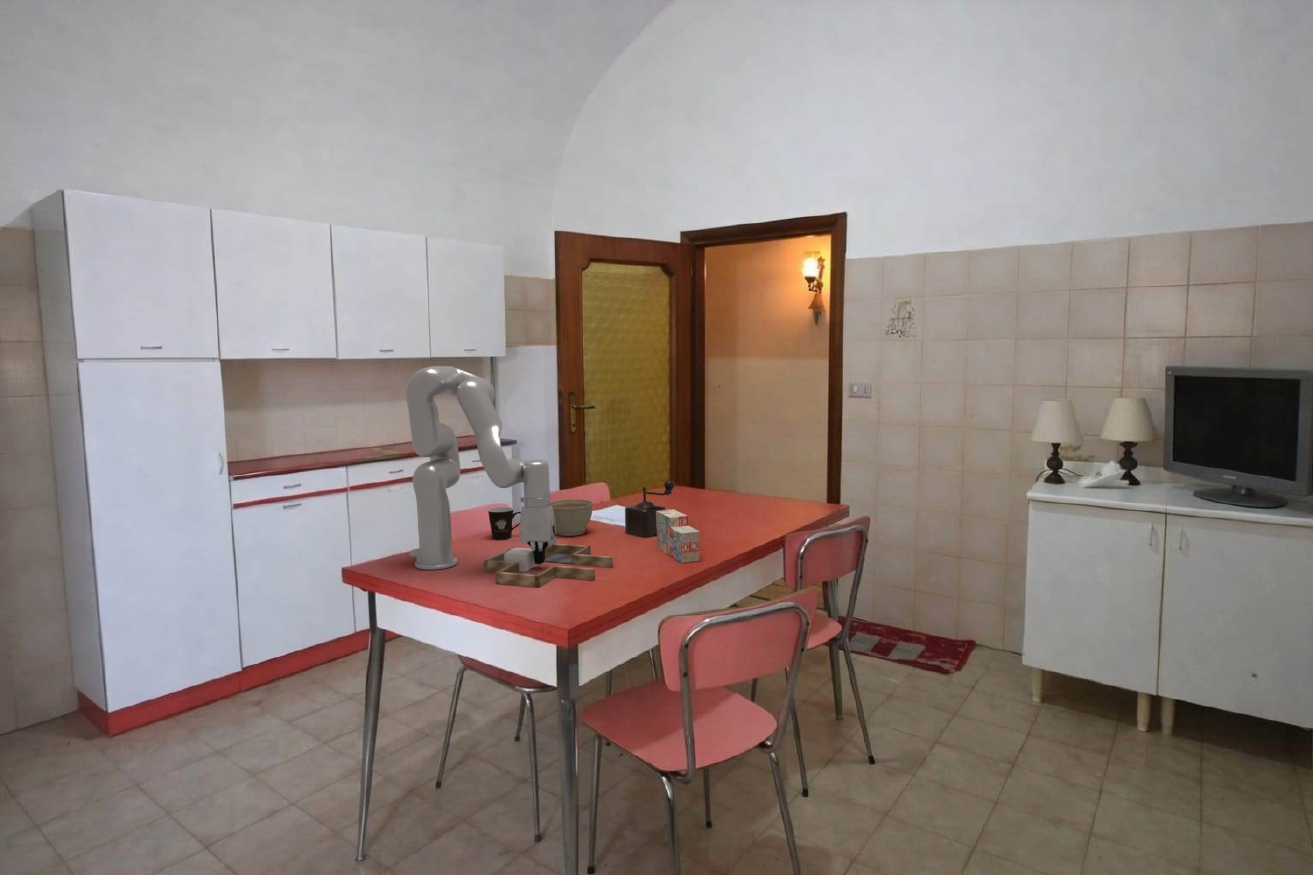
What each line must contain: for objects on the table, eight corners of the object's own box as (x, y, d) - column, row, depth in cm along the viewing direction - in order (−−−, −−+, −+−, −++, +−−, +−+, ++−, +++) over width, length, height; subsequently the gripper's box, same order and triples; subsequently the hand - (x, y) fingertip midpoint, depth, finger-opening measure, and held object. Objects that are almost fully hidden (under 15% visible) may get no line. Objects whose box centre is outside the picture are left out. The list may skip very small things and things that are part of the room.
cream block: (505, 569, 229) (504, 553, 228) (516, 563, 235) (515, 547, 235) (526, 571, 227) (525, 554, 226) (537, 565, 233) (536, 548, 233)
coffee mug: (484, 540, 266) (483, 511, 264) (495, 534, 274) (494, 506, 273) (516, 541, 263) (515, 512, 262) (526, 535, 271) (525, 507, 270)
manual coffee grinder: (645, 538, 264) (644, 486, 262) (624, 533, 272) (623, 482, 270) (678, 530, 274) (677, 480, 272) (656, 526, 282) (655, 477, 280)
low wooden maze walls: (465, 580, 218) (464, 570, 218) (524, 550, 250) (524, 541, 250) (578, 590, 207) (578, 579, 206) (625, 558, 239) (625, 548, 239)
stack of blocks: (700, 561, 234) (699, 521, 233) (680, 563, 232) (680, 523, 231) (674, 545, 254) (673, 508, 253) (656, 547, 252) (655, 510, 251)
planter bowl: (578, 526, 284) (577, 497, 283) (602, 533, 272) (601, 503, 270) (539, 532, 275) (538, 502, 274) (562, 541, 262) (561, 509, 261)
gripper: (508, 503, 226) (510, 564, 228) (554, 505, 221) (556, 568, 223) (520, 498, 233) (523, 558, 235) (565, 500, 228) (567, 561, 230)
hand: (539, 563), depth 229 cm, fingers closed
